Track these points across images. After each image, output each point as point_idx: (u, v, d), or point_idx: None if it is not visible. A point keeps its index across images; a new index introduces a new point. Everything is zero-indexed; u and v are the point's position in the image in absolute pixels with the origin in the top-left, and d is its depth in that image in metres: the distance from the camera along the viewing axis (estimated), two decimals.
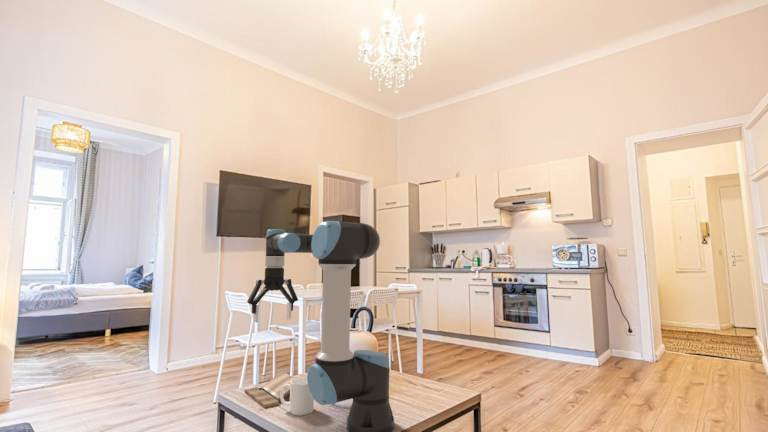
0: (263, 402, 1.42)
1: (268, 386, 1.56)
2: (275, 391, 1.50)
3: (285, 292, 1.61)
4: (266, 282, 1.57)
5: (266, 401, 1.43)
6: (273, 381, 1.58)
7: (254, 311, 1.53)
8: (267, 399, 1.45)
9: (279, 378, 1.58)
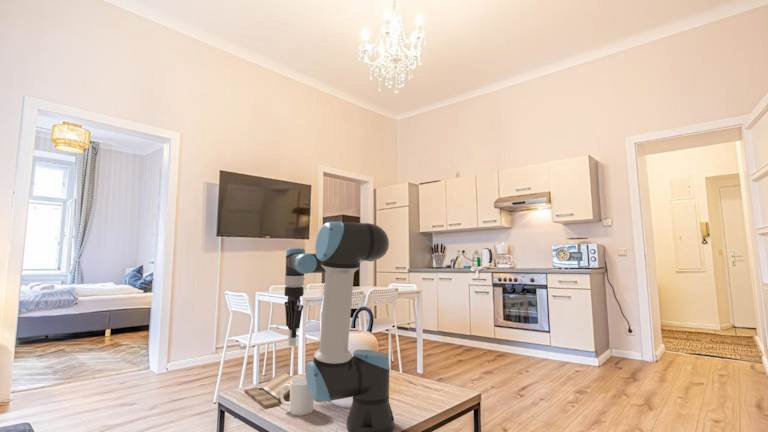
0: (263, 402, 1.42)
1: (268, 386, 1.56)
2: (275, 391, 1.50)
3: (291, 315, 1.57)
4: None
5: (266, 401, 1.43)
6: (273, 381, 1.58)
7: (289, 334, 1.59)
8: (267, 399, 1.45)
9: (279, 378, 1.58)
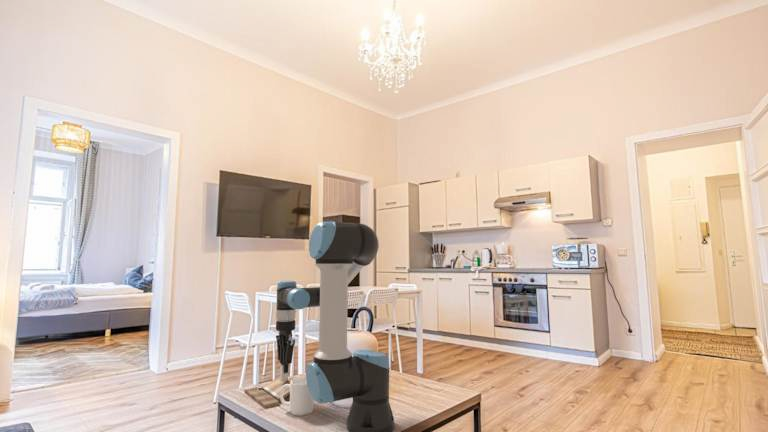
0: (263, 402, 1.42)
1: (269, 386, 1.56)
2: (276, 391, 1.51)
3: (283, 350, 1.55)
4: (279, 334, 1.59)
5: (266, 401, 1.43)
6: (274, 382, 1.58)
7: (281, 369, 1.56)
8: (267, 399, 1.45)
9: None
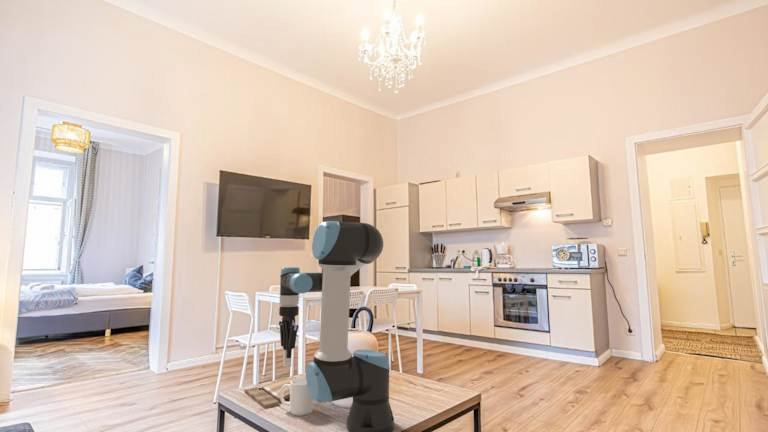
0: (263, 402, 1.42)
1: (269, 387, 1.56)
2: (276, 392, 1.51)
3: (286, 335, 1.56)
4: None
5: (266, 401, 1.43)
6: (275, 384, 1.58)
7: None
8: (267, 399, 1.45)
9: (281, 382, 1.59)
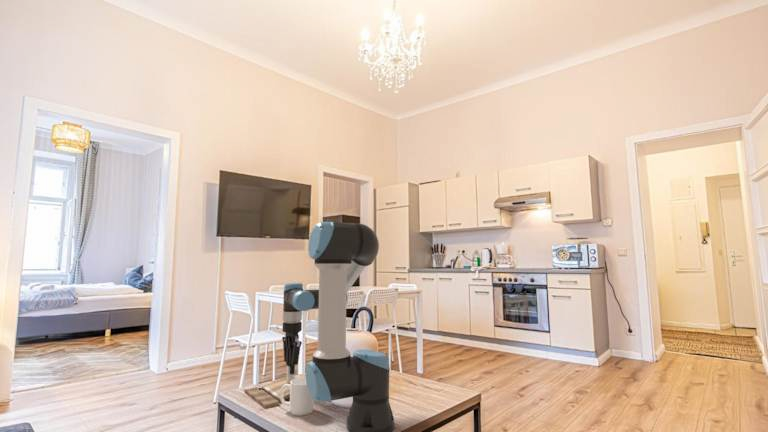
0: (263, 402, 1.42)
1: (269, 387, 1.56)
2: (276, 392, 1.51)
3: (289, 351, 1.56)
4: (285, 336, 1.60)
5: (266, 401, 1.43)
6: (275, 384, 1.58)
7: None
8: (267, 399, 1.45)
9: (281, 382, 1.59)
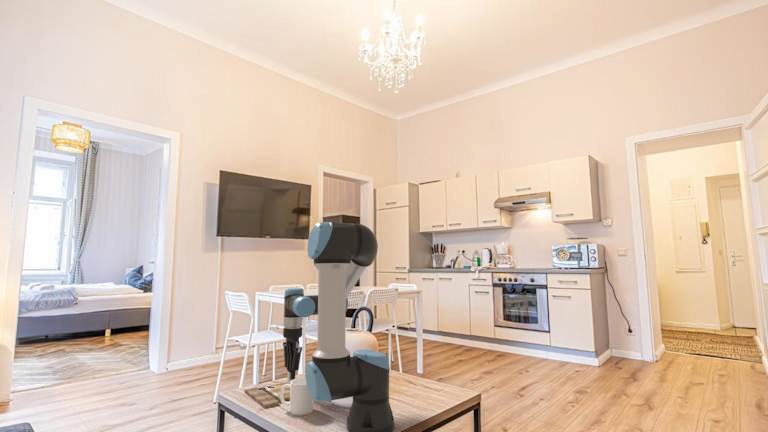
0: (263, 402, 1.42)
1: (270, 388, 1.56)
2: (277, 393, 1.51)
3: (290, 357, 1.56)
4: (286, 341, 1.60)
5: (266, 401, 1.43)
6: (275, 386, 1.58)
7: None
8: (267, 399, 1.45)
9: None
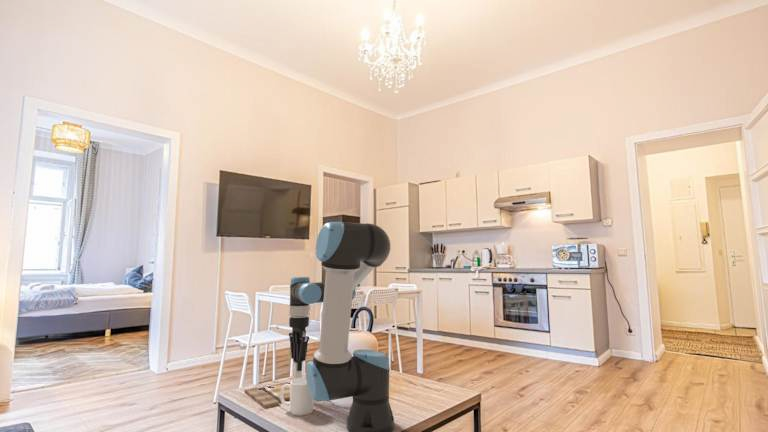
0: (263, 402, 1.42)
1: (270, 388, 1.56)
2: (277, 393, 1.51)
3: (297, 347, 1.52)
4: (292, 332, 1.56)
5: (266, 401, 1.43)
6: (275, 386, 1.58)
7: None
8: (267, 399, 1.45)
9: None
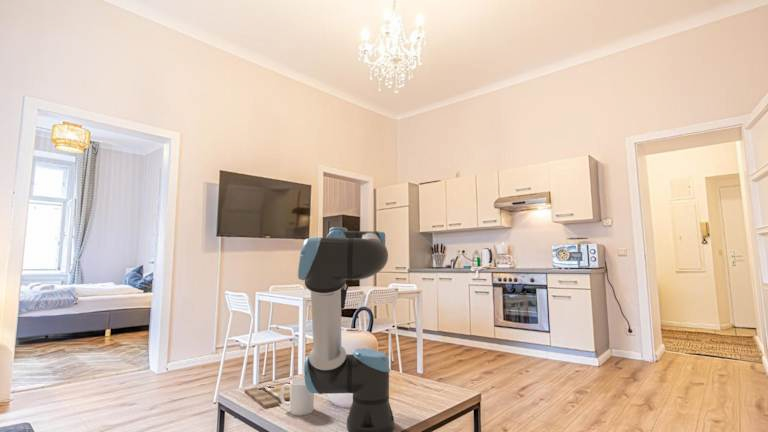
0: (263, 402, 1.42)
1: (270, 388, 1.56)
2: (277, 393, 1.51)
3: None
4: None
5: (266, 401, 1.43)
6: (275, 386, 1.58)
7: None
8: (267, 399, 1.45)
9: None
